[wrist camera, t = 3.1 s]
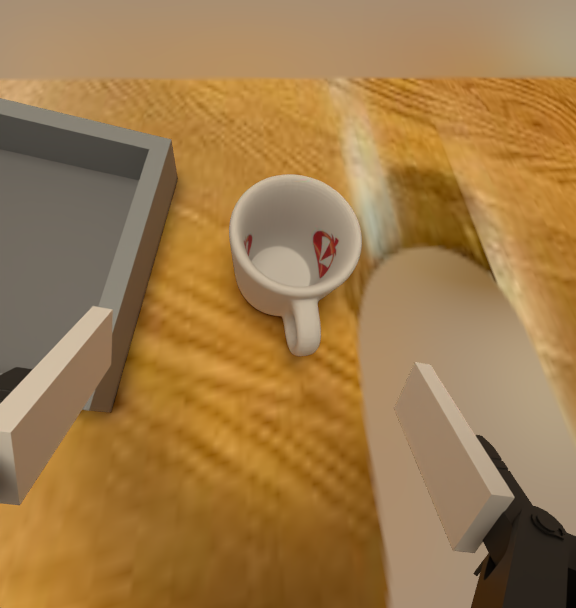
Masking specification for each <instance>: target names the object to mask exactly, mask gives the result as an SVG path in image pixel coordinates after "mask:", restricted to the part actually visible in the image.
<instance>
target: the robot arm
mask: <svg viewBox="0 0 576 608" xmlns="http://www.w3.org/2000/svg"><path fill="white" fill-rule="evenodd" d="M112 316H113V309H107V308H101V307H96V306H92V308H91V309H90V310H89V311H88V312H87V313H86V314H85V315H84V316H83V317H82V318H81V319H80V320H79V321H78V322H77V323H76V324H75V325H74V327H73V328H72V329H71V330H70V331H69V332H68V333H67V334H66V335H65V336H64V337H63V338H62V339H61V340H60V341H59V342H58V343H57V344H56V346H55V347H54V348H53V349H52V350H51V351H50V352H49V353H48V354H47V355H46V356H45V357H44V358H43V359H42V360H41V361H40V362H39V363H38V365H37V366H36V367H35V368H34V369H27V368H21V367H15V368H13V369H11V370H9V371H7V372H5V373H3V374H1V375H0V503H4V504H13V505H20V504H21V503H22V501H23V500H24V498H25V497H26V495H27V493H28V492H29V490H30V489H31V487H32V486H33V484H34V483H35V481H36V480H37V478H38V477H39V475H40V473H41V472H42V470H43V469H44V467H45V466H46V464H47V463H48V461H49V460H50V458H51V457H52V455H53V453H54V452H55V450H56V449H57V447H58V446H59V444H60V443H61V441H62V440H63V438H64V437H65V435H66V433H67V432H68V430H69V429H70V427H71V426H72V424H73V423H74V421H75V420H76V418H77V416H78V415H79V413H80V412H81V410H82V409H83V407H84V406H85V404H86V403H87V401H88V400H89V398H90V396H91V395H92V393H93V392H94V390H95V389H96V387H97V386H98V384H99V383H100V381H101V380H102V378H103V376H104V375H105V373H106V372H107V370H108V369H109V367H110V366H111V355H112ZM394 410H395V412H396V415H397V417H398V420H399V422H400V424H401V427H402V429H403V432H404V434H405V436H406V439H407V441H408V443H409V446H410V449H411V451H412V453H413V456H414V458H415V461H416V463H417V465H418V468H419V470H420V472H421V475H422V477H423V480H424V482H425V485H426V487H427V489H428V492H429V494H430V497H431V499H432V501H433V504H434V506H435V509H436V511H437V513H438V516H439V518H440V521H441V523H442V525H443V528H444V530H445V533H446V535H447V538H448V540H449V542H450V545H451V547H452V550H453V551H461V552H470V553H475V552H476V550H477V549H478V547H479V546H480V545H481V543H482V542H484V544H485V546H486V548H487V550H488V552H489V553H488V555H487V556H486V558H485V559H484V560H483V561H482V563H481V564H480V565H479V567H478V568H477V569H476V571H475V572H474V574H475V575H476V576H478V574H479V573H480V572H481V573H480V576H479V580H478V584H477V587H476V591H475V595H474V598H473V602H472V606H471V608H576V536H573V535H571V534H568V533H566V531H565V529H564V528H563V526H562V525H561V524H560V523H559V522H558V521H557V520H556V519H555V518H554V517H553V516H552V515H550V514H549V513H548V512H546V511H544V510H543V509H541V508H539V507H536V506H533V505H532V504H531V502H530V501H529V499H528V498H527V496H526V495H525V493H524V492H523V490H522V489H521V487H520V486H519V484H518V483H517V482H516V480H515V479H514V477H513V475H512V474H511V472H510V471H508V468H507V466H506V465H505V463H504V462H503V461H501V457H500V456H499V455H498V453H497V451H496V450H495V449H494V447H493V446H492V445H491V444H490V443H489V442H488V441H487V440H486V439H485V438H483V437H482V436H480V435H475V434H474V432H473V431H472V429H471V428H470V426H469V424H468V423H467V421H466V420H465V418H464V417H463V415H462V414H461V412H460V410H459V409H458V407H457V406H456V404H455V402H454V401H453V399H452V398H451V396H450V395H449V393H448V391H447V390H446V388H445V387H444V385H443V384H442V382H441V380H440V379H439V377H438V376H437V374H436V373H435V371H434V370H433V368H432V366H431V365H429V364H423V363H418V362H415V363H414V365H413V367H412V369H411V371H410V374H409V376H408V378H407V380H406V383H405V385H404V387H403V389H402V391H401V394H400V396H399V398H398V401H397V403H396V405H395V407H394Z"/></svg>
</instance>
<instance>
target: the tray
mask: <svg viewBox="0 0 576 608" xmlns="http://www.w3.org/2000/svg"><path fill="white" fill-rule="evenodd" d="M177 179H178V178H177V172H176V166H175V159H174V153H173V147H172V141H171V139H167V138H163V137H159V136H154V135H150V134H146V133H142V132H138V131H134V130H130V129H125V128H121V127H117V126H113V125H109V124H105V123H101V122H96V121H92V120H88V119H84V118H80V117H76V116H72V115H67V114H63V113H59V112H55V111H51V110H47V109H43V108H38V107H34V106H30V105H26V104H22V103H18V102H14V101H9V100H5V99H1V98H0V375H1V374H3V373H5V372H7V371H9V370H11V369H13V368H15V367H21V368H27V369H34V368H35V367H36V366H37V365H38V363H39V362H40V361H41V360H42V359H43V358H44V357H45V356H46V355H47V354H48V353H49V352H50V351H51V350H52V349H53V348H54V347H55V346H56V344H57V343H58V342H59V341H60V340H61V339H62V338H63V337H64V336H65V335H66V334H67V333H68V332H69V331H70V330H71V329H72V328H73V327H74V325H75V324H76V323H77V322H78V321H79V320H80V319H81V318H82V317H83V316H84V315H85V314H86V313H87V312H88V311H89V310H90V309H91V308H92V306H96V307H101V308H107V309H113V316H112V355H111V366H110V367H109V369H108V370H107V372H106V373H105V375H104V376H103V378H102V380H101V381H100V383H99V384H98V386H97V387H96V389H95V390H94V392H93V393H92V395H91V396H90V398H89V400H88V401H87V403H86V404H85V406H84V407H83V409H82V410H89V411H100V412H111V411H112V407H113V404H114V400H115V397H116V393H117V390H118V386H119V383H120V379H121V376H122V372H123V369H124V365H125V362H126V358H127V355H128V351H129V348H130V344H131V341H132V337H133V334H134V330H135V327H136V323H137V319H138V316H139V312H140V309H141V305H142V302H143V298H144V295H145V291H146V288H147V284H148V281H149V277H150V274H151V270H152V267H153V263H154V260H155V256H156V253H157V249H158V246H159V242H160V239H161V235H162V232H163V228H164V225H165V221H166V218H167V214H168V211H169V207H170V204H171V200H172V197H173V193H174V190H175V186H176V183H177Z"/></svg>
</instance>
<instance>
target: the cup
mask: <svg viewBox="0 0 576 608" xmlns="http://www.w3.org/2000/svg"><path fill="white" fill-rule="evenodd" d="M229 237H230V245H231V251H232V258H233V264H234V271H235V277H236V281H237V284H238V287H239V289H240V291H241V293H242V295H243V296H244V298H245V299H246V300H247V301H248V302H249V303H250V304H251V305H252V306H253V307H255V308H256V309H258V310H259V311H261V312H264V313H266V314H269V315H274V316H282V318H283V322H284V329H285V335H286V340H287V344H288V347H289V349H290V351H291V353H292V354H293V355H295V356H307V355H310V354H312V353H314V352H315V351H316V350H317V349H318V346H319V344H320V339H321V327H320V318H319V311H318V301H319V300H321V299H322V298H323V297H325V296H326V295H328V294H329V293H330V292H332V291H333V290H335V289H336V288H337V287H339V286H340V285H341V284H342V283H344V282H345V281H346V280H347V278H348V277H349V276H350V275H351V273H352V272H353V270H354V269H355V267H356V265H357V263H358V260H359V257H360V253H361V246H362V237H361V230H360V226H359V222H358V220H357V217H356V215H355V213H354V211H353V210H352V208H351V206H350V205H349V204H348V202H347V201H346V200H345V199H344V198H343V197H342V196H341V195H340V194H339V193H338V192H337V191H336V190H334V189H333V188H331V187H330V186H328V185H326V184H325V183H323V182H321V181H318V180H316V179H313V178H310V177H306V176H301V175H278V176H273V177H270V178H267V179H264V180H262V181H260V182H258V183H256V184H255V185H253V186H252V187H251V188H249V189H248V190H247V191H246V192H245V193H244V194H243V195H242V196H241V198H240V199H239V200H238V202H237V204H236V205H235V208H234V210H233V212H232V216H231V220H230V226H229Z"/></svg>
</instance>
